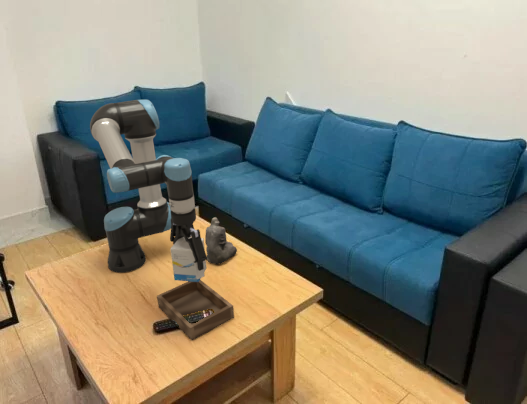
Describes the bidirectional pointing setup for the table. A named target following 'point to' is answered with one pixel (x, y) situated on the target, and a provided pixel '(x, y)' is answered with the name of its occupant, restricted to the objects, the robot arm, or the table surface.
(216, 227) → the figurine
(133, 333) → the table surface
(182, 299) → the tray
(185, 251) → the ink box
